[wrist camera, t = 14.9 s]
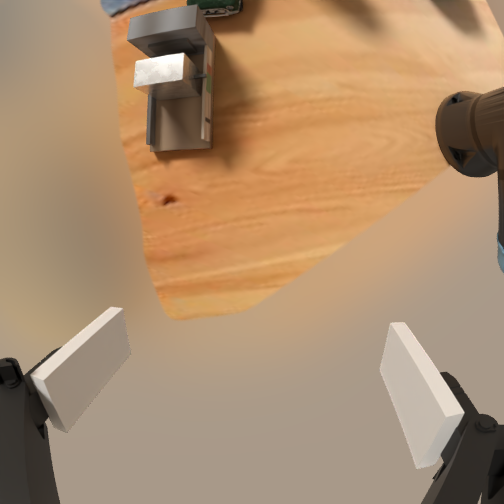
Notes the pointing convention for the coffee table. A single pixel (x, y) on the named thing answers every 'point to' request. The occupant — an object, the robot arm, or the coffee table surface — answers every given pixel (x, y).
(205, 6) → the miniature car
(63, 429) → the robot arm
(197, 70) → the carriage
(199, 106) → the frame
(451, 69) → the coffee table surface
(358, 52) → the coffee table surface
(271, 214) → the coffee table surface
